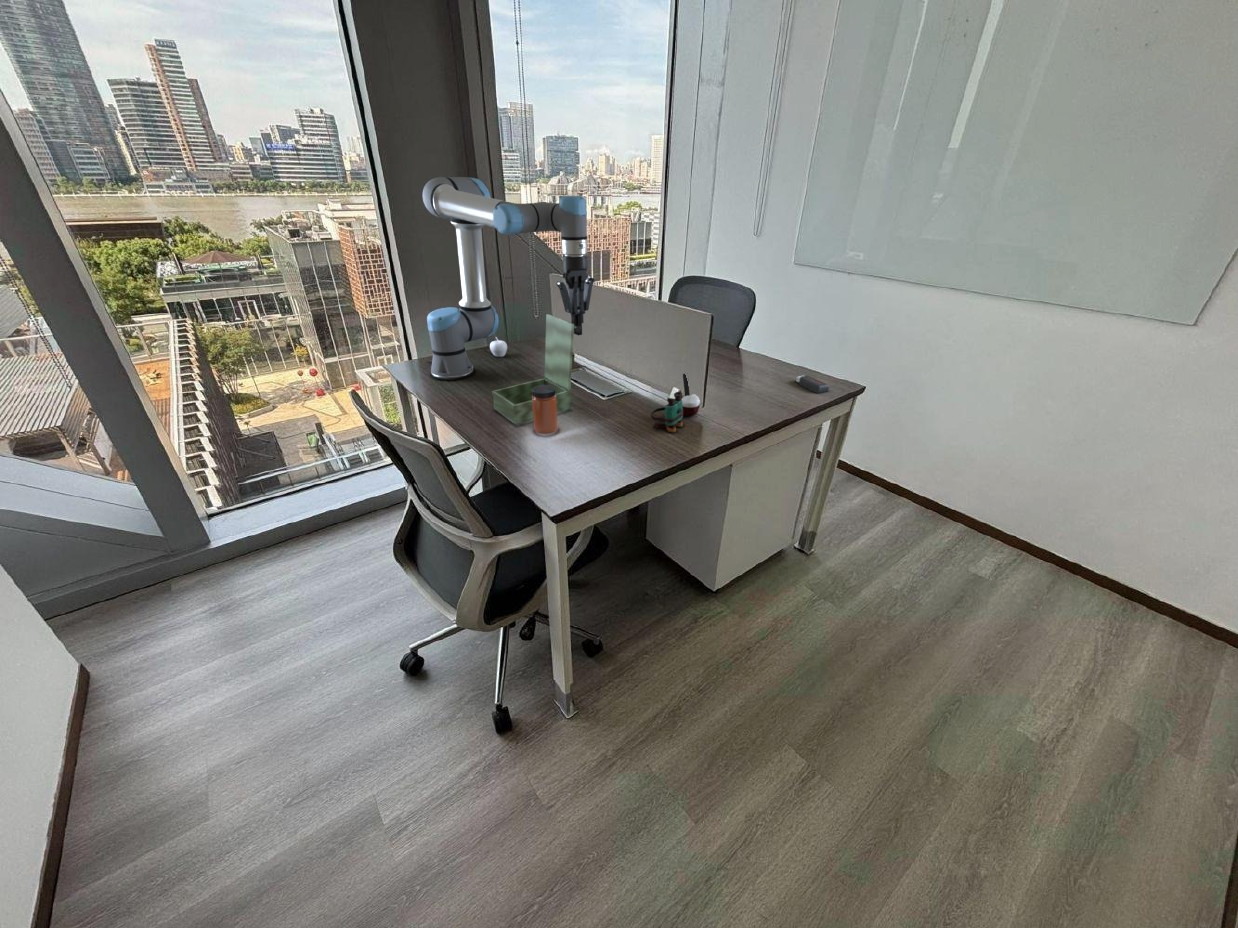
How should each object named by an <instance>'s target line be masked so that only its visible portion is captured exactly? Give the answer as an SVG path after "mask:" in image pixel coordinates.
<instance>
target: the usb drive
mask: <svg viewBox="0 0 1238 928" xmlns="http://www.w3.org/2000/svg"><path fill="white" fill-rule="evenodd" d="M795 382H797V383H798V385H799V386H800V387H803V388H805V389H807V390H810V391H812V392H813V393H816V394H820V393H825V392H829V389H830V386H829V385H828V384H827V383H826V382H823V381H822V380H819V379H817V378H814V377H812V376H810V375H799V376H796V378H795Z"/></svg>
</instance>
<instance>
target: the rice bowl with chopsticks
mask: <svg viewBox="0 0 1238 928" xmlns="http://www.w3.org/2000/svg"><path fill="white" fill-rule="evenodd" d="M682 380H683V382H682V383H683V392H684V396H683V397H682V398H681V399H682V408H683V417H684V416H685V417H688V418H690V417H694V416H697V414H698V413H699V410H700V404H701V403H700V402H701V400H700V398H699V396H697V394H695V393H693V394H691V393H690V385H689V386H688V381H689V380H688V381H687V378H686V375H685V373H683V374H682Z"/></svg>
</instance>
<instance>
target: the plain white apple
mask: <svg viewBox="0 0 1238 928" xmlns="http://www.w3.org/2000/svg"><path fill="white" fill-rule="evenodd" d="M495 339H496V340H493V341H491V342H490V344H489V349H490V352H491V353H492V355H493V356H495V357H496V358H502V357H505V356H506V353H507V351H508V344H507V342H506V341H504V340H501V339H498V337H497V336H495Z"/></svg>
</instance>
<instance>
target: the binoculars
mask: <svg viewBox="0 0 1238 928" xmlns="http://www.w3.org/2000/svg"><path fill="white" fill-rule="evenodd" d="M673 397H674V398H671V397H667V398H666V399H667V404H666V405H665V406H664V407H657V408H655V409H653V410H652V411H651V413H650V414H651V415H650V418H651V420H653V421H655V422H654V428H656V429H663V428H664V429H666V431H667V432H669V433H676V432H677V427H683V426H684V425H683V423H684V422H683V420H682V419H683V417H684V415H683V408H682V398H681V397H682V392H680V391H676V392H674V393H673ZM662 411H664V416H663V415H661V416H660V417H656V416H654V414H655V413H657V412H662Z"/></svg>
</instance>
